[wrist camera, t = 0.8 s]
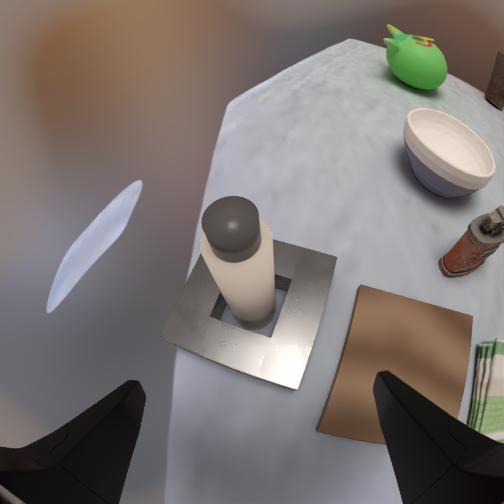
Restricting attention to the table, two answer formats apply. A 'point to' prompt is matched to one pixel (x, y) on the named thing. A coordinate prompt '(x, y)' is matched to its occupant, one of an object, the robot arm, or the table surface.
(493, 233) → the lighter
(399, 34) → the toy bird
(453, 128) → the bowl
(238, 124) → the table surface
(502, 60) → the candle
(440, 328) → the board
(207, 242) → the white bottle
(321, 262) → the housing
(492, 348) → the dish towel
